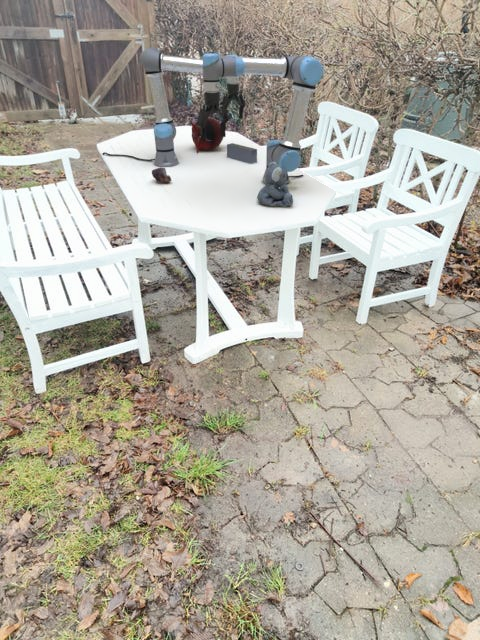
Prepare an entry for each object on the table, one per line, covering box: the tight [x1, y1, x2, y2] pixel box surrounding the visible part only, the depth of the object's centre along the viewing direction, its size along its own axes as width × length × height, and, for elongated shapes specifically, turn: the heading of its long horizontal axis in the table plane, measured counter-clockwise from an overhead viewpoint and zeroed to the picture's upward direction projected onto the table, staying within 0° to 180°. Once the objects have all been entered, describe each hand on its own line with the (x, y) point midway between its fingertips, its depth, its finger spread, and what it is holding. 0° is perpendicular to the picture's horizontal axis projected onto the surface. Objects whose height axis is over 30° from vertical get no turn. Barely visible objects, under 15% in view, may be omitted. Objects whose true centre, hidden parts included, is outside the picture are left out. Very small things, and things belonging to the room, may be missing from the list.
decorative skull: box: [189, 117, 224, 154], centre depth 320 cm, size 21×24×25 cm
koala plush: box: [256, 162, 294, 208], centre depth 228 cm, size 17×18×20 cm
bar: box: [226, 142, 258, 165], centre depth 299 cm, size 24×5×8 cm, turn 44°
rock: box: [151, 166, 172, 183], centre depth 260 cm, size 12×9×10 cm
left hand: (233, 119), depth 293 cm, fingers open, 13 cm apart
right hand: (213, 139), depth 224 cm, fingers open, 13 cm apart
